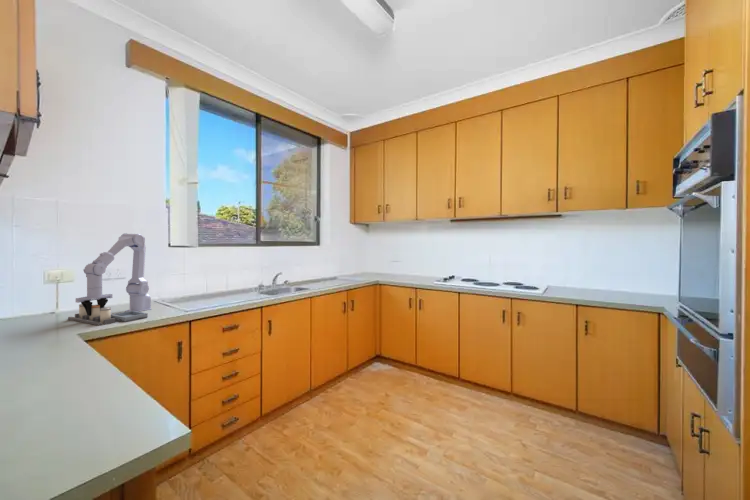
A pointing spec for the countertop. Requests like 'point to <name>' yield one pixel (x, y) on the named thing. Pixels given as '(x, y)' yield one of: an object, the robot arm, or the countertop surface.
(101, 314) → the fuse
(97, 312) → the cylinder
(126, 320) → the tray
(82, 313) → the cream capsule cylinder
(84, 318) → the clip rail
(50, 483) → the countertop surface
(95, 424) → the countertop surface
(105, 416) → the countertop surface
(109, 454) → the countertop surface
